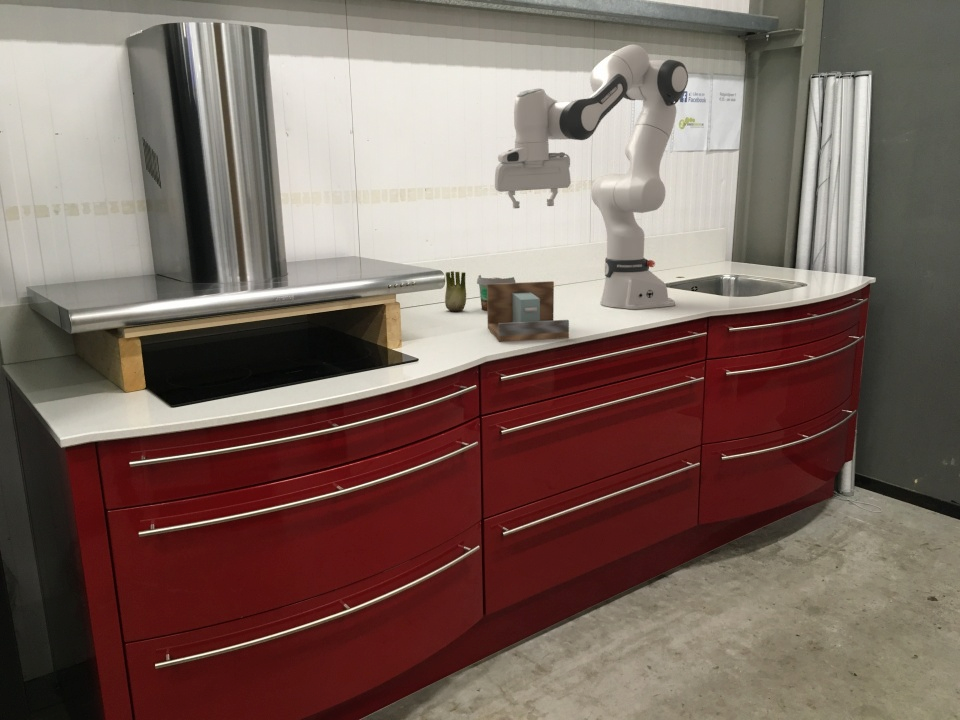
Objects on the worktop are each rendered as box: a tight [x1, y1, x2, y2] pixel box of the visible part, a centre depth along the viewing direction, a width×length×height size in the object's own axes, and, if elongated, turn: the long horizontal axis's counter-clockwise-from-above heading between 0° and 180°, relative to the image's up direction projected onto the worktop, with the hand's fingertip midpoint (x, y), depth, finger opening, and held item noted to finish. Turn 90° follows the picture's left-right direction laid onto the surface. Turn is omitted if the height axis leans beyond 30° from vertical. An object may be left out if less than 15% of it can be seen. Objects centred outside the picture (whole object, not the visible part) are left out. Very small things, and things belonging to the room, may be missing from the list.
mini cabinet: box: [512, 292, 540, 322], centre depth 207 cm, size 5×11×8 cm, turn 10°
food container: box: [476, 274, 517, 312], centre depth 236 cm, size 12×6×10 cm, turn 62°
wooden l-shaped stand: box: [486, 281, 570, 343], centre depth 206 cm, size 18×16×12 cm
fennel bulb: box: [444, 270, 467, 312], centre depth 236 cm, size 6×5×12 cm
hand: (533, 207), depth 213 cm, fingers open, 8 cm apart
